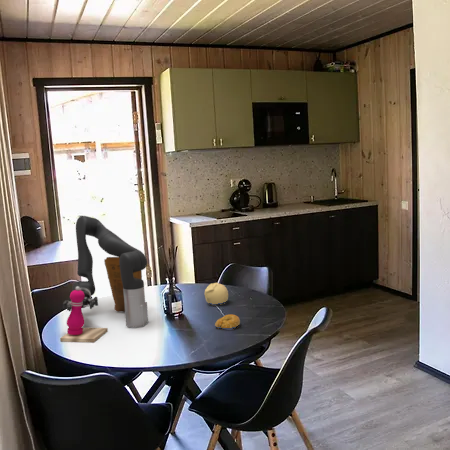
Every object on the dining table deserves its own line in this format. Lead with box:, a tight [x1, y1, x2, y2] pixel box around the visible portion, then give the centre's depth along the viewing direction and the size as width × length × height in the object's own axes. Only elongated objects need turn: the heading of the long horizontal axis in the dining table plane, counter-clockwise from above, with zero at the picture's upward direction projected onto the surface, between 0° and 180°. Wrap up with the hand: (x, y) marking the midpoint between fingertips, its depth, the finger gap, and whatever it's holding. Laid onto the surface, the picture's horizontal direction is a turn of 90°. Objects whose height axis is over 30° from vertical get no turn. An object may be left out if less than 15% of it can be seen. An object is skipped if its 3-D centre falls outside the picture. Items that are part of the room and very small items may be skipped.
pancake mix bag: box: [103, 256, 143, 313], centre depth 234 cm, size 7×19×28 cm, turn 72°
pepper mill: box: [66, 286, 85, 335], centre depth 201 cm, size 7×7×20 cm
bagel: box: [214, 313, 241, 328], centre depth 206 cm, size 10×11×5 cm
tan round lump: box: [204, 282, 229, 304], centre depth 240 cm, size 12×12×11 cm
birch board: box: [60, 327, 109, 343], centre depth 203 cm, size 15×13×2 cm
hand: (80, 307), depth 199 cm, fingers open, 8 cm apart
